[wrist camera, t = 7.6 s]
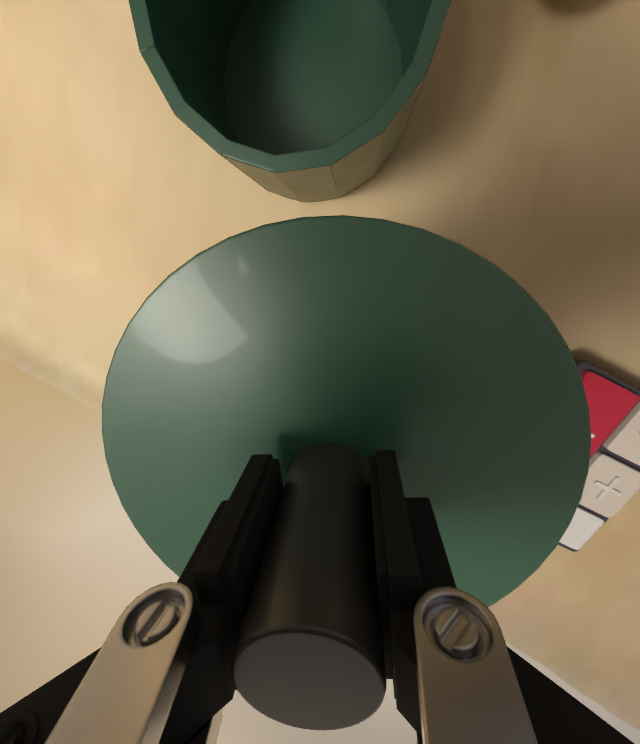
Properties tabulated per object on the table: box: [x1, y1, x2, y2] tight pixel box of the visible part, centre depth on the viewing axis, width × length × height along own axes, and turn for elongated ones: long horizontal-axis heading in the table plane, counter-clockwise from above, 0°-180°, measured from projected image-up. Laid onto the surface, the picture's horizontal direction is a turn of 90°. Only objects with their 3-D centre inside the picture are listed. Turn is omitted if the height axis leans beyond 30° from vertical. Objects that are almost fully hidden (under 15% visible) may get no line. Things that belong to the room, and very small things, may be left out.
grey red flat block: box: [558, 357, 640, 551], centre depth 30 cm, size 11×4×15 cm
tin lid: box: [102, 215, 592, 730], centre depth 9 cm, size 15×15×7 cm
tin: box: [129, 0, 451, 202], centre depth 19 cm, size 14×14×10 cm
